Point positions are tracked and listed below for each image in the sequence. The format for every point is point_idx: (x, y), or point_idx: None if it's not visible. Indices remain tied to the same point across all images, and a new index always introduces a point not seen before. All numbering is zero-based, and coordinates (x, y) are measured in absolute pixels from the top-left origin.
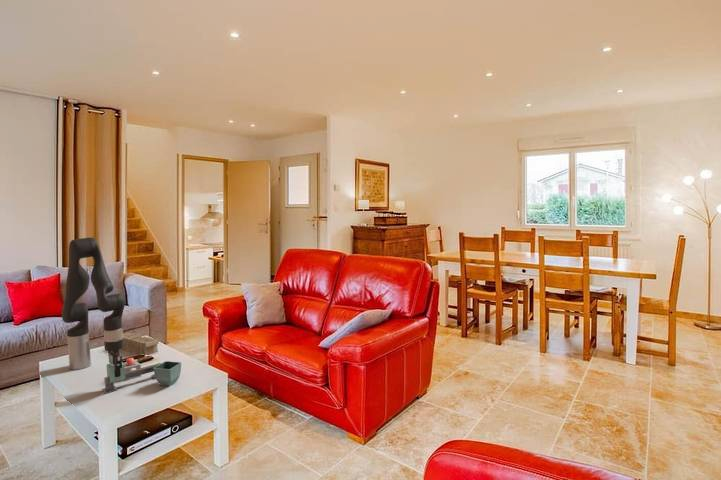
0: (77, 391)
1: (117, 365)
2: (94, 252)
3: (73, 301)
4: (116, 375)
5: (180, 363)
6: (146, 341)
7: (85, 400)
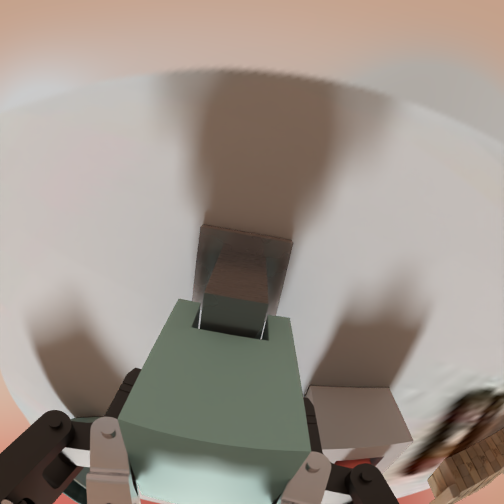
0: (424, 133)
1: (137, 471)
2: None
3: None
4: (131, 373)
5: (72, 499)
6: (463, 494)
7: (205, 89)
